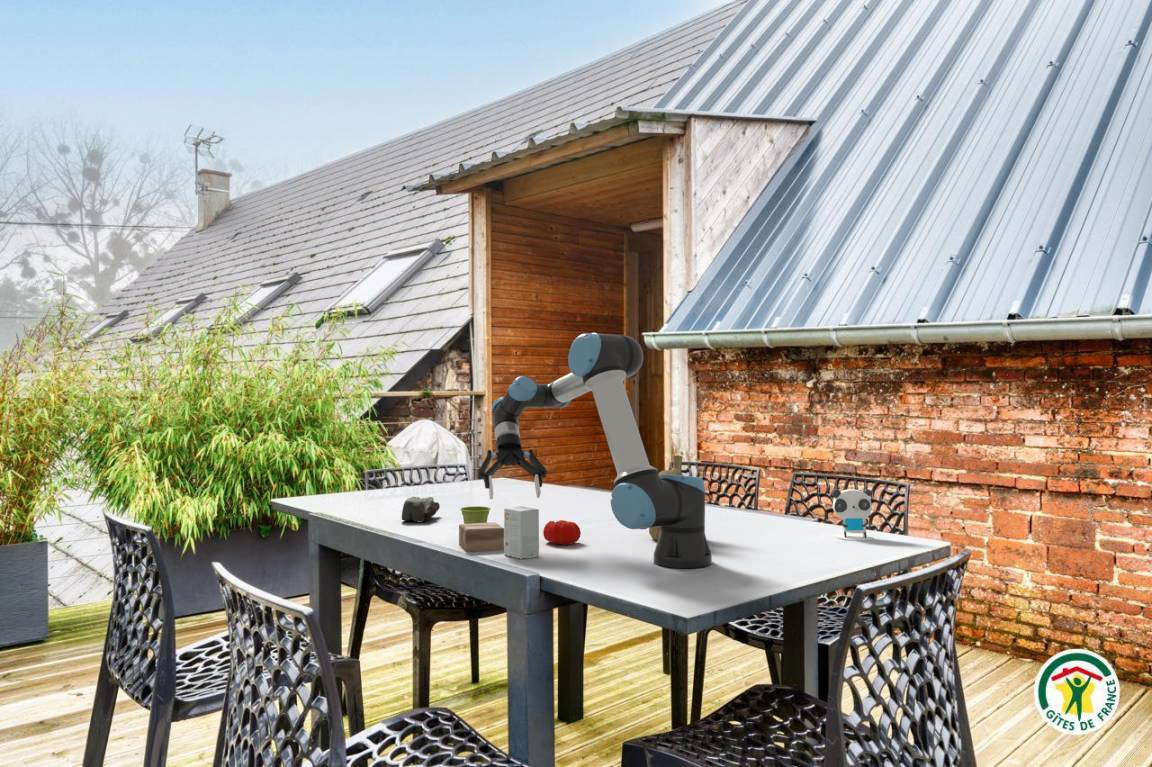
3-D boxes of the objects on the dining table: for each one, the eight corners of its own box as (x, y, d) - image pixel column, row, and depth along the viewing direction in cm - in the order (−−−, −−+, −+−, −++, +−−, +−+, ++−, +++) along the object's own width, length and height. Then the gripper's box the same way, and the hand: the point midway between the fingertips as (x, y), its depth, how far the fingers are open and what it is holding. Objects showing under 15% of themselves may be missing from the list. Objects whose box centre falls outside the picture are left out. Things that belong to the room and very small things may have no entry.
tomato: (560, 539, 250) (560, 517, 250) (586, 543, 242) (586, 521, 243) (536, 543, 243) (537, 521, 244) (562, 548, 236) (562, 525, 236)
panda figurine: (835, 540, 247) (834, 490, 248) (829, 534, 258) (829, 486, 259) (876, 541, 245) (876, 491, 246) (869, 535, 257) (868, 487, 257)
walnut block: (504, 549, 233) (504, 527, 233) (465, 551, 230) (465, 529, 230) (495, 542, 243) (495, 522, 244) (459, 545, 240) (459, 523, 240)
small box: (539, 556, 223) (539, 509, 223) (520, 559, 219) (520, 511, 219) (522, 552, 229) (522, 505, 229) (503, 555, 225) (503, 507, 225)
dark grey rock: (432, 524, 279) (432, 501, 279) (399, 524, 279) (399, 501, 279) (441, 516, 297) (441, 494, 297) (410, 516, 297) (410, 494, 297)
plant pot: (496, 535, 257) (496, 507, 257) (477, 539, 249) (477, 511, 249) (473, 532, 262) (473, 505, 262) (454, 537, 254) (454, 509, 254)
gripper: (546, 447, 254) (556, 502, 239) (466, 449, 249) (470, 504, 234) (549, 431, 249) (559, 486, 234) (467, 432, 244) (472, 488, 229)
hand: (515, 495), depth 234 cm, fingers open, 13 cm apart
